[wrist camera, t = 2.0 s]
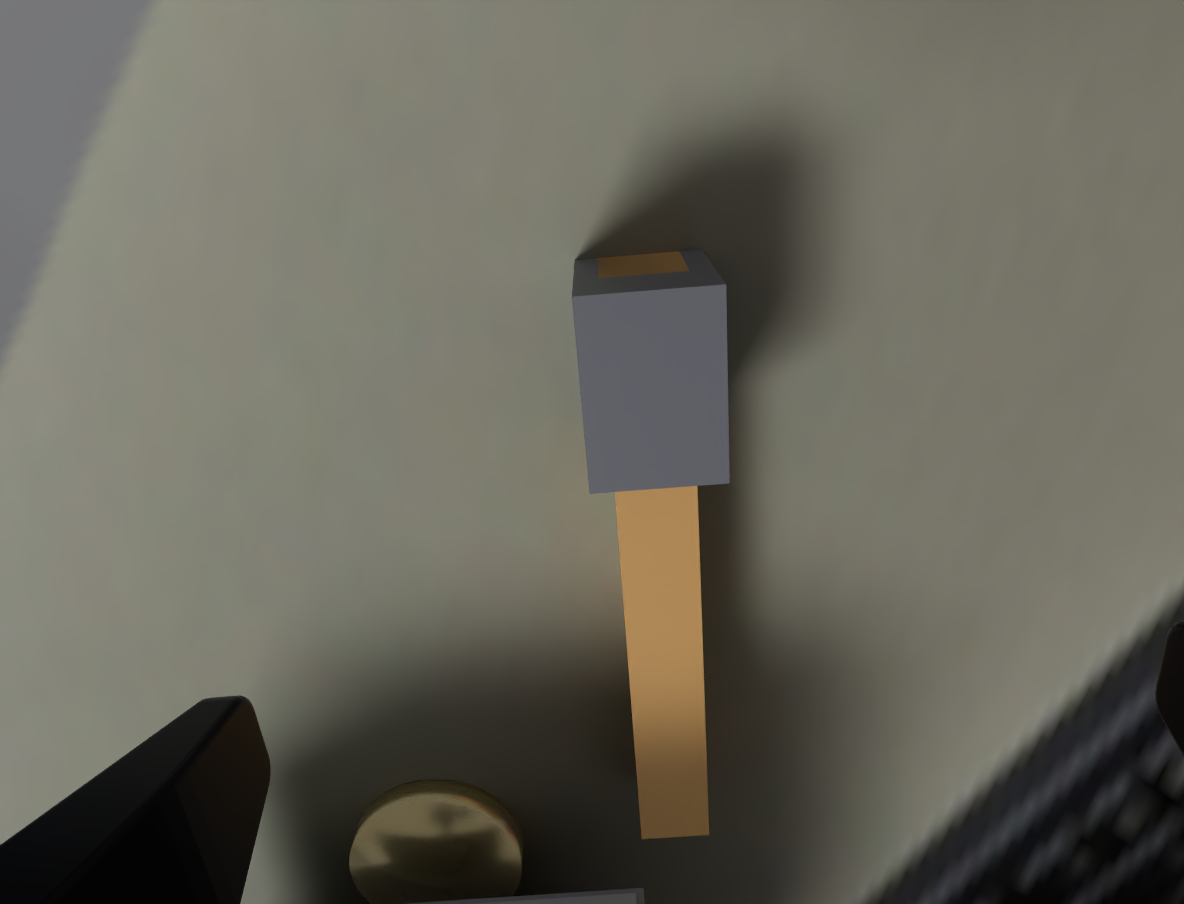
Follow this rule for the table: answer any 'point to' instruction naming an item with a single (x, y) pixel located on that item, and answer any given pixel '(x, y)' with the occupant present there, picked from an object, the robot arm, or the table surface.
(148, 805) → the robot arm
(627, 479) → the gray mallet
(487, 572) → the table surface
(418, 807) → the disc
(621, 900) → the cabinet
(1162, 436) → the table surface
